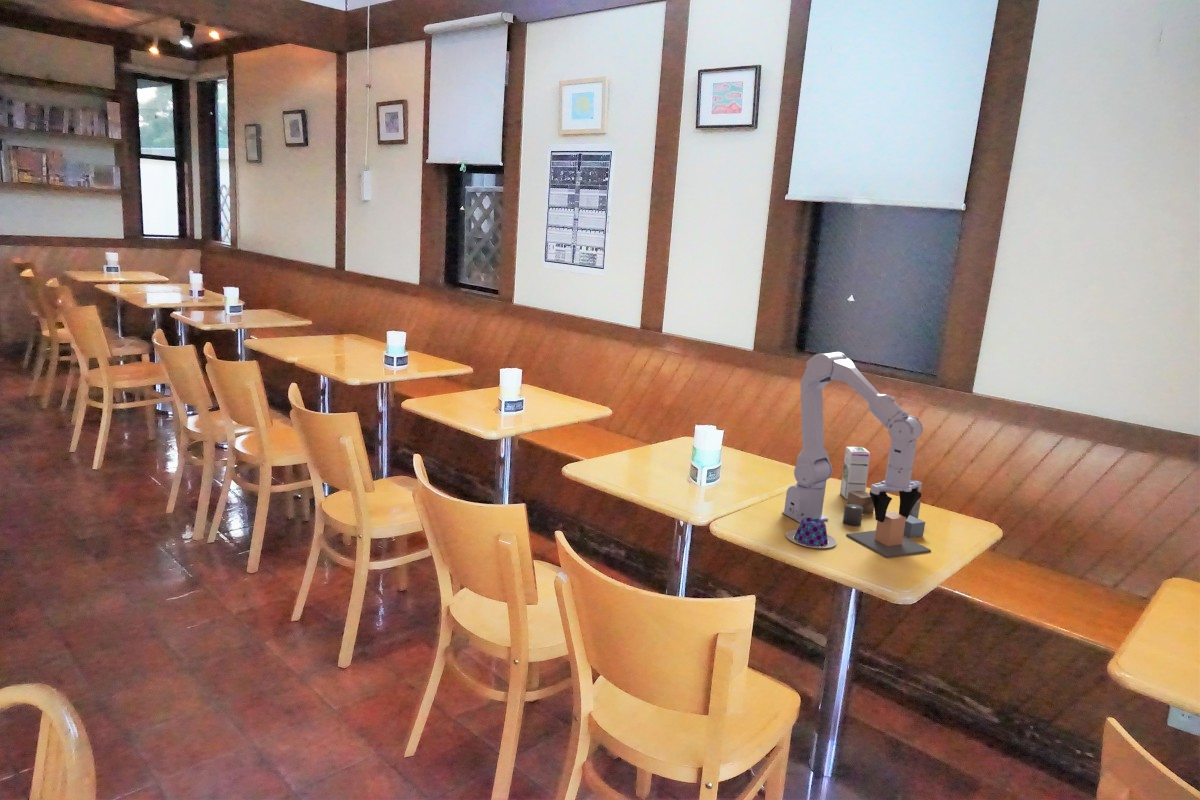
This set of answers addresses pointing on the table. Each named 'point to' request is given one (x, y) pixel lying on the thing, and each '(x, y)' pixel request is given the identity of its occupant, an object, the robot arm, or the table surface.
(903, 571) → the table surface
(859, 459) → the syrup box
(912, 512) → the dark steel can
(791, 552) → the table surface
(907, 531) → the slate blue block
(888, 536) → the terracotta block
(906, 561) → the table surface
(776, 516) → the table surface
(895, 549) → the charcoal mat
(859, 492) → the walnut block
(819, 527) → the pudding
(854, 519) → the charcoal cylinder
